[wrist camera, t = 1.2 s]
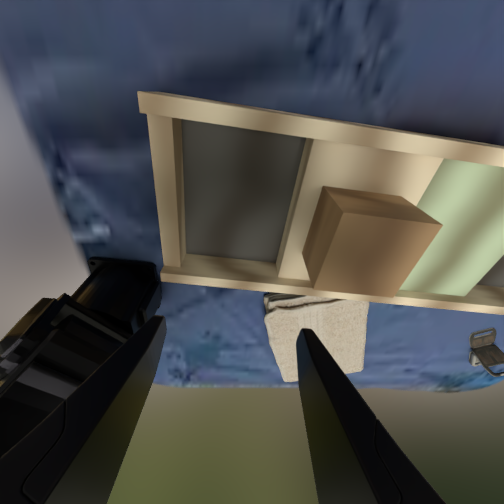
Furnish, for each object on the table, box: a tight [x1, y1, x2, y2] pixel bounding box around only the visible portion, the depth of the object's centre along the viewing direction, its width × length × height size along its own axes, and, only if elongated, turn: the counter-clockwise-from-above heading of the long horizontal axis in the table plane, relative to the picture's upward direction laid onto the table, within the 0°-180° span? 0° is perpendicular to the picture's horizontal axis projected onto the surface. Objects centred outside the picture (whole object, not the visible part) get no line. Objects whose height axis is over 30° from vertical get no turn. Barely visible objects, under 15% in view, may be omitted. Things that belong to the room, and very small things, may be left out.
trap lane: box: [137, 91, 504, 315], centre depth 19 cm, size 40×14×4 cm, turn 82°
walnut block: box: [302, 186, 443, 298], centre depth 17 cm, size 6×6×4 cm
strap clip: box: [469, 328, 504, 377], centre depth 31 cm, size 8×3×4 cm, turn 28°
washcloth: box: [264, 293, 369, 382], centre depth 29 cm, size 12×18×3 cm, turn 15°
